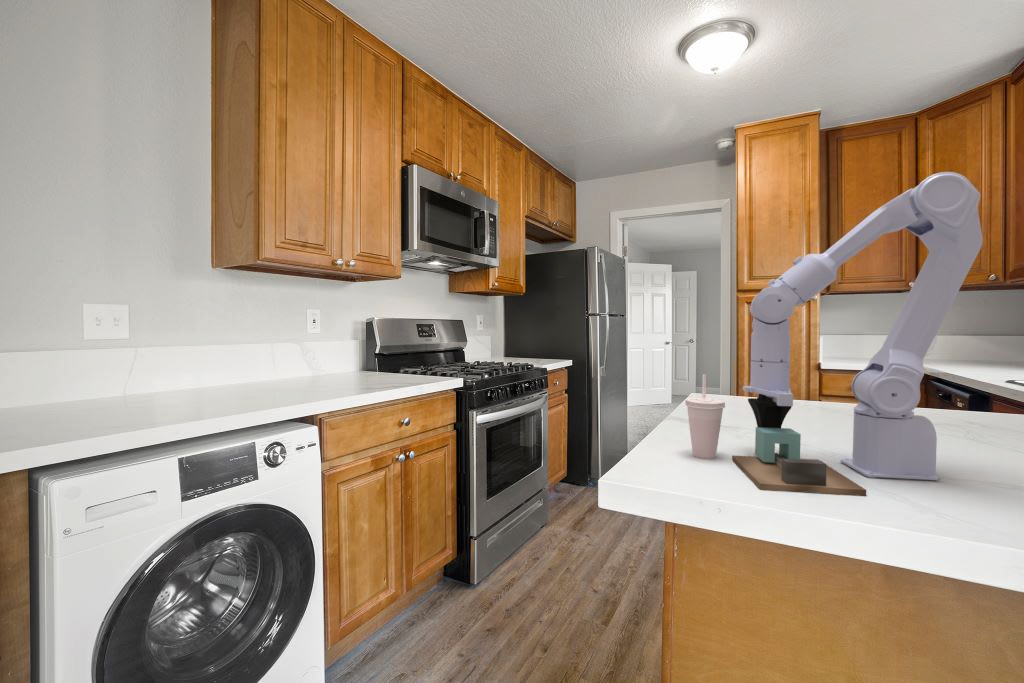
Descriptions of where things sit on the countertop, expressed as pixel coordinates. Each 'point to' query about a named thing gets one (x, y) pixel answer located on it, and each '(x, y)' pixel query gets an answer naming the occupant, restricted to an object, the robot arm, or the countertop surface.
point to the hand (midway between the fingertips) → (768, 441)
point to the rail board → (775, 474)
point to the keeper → (781, 436)
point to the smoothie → (704, 423)
